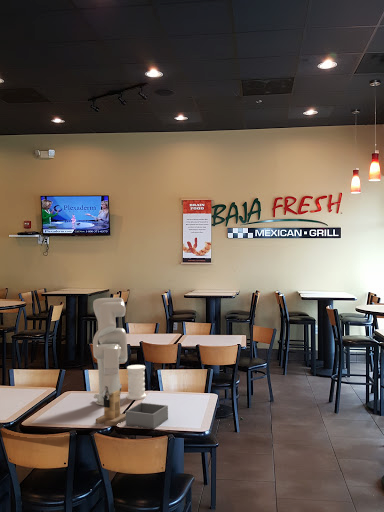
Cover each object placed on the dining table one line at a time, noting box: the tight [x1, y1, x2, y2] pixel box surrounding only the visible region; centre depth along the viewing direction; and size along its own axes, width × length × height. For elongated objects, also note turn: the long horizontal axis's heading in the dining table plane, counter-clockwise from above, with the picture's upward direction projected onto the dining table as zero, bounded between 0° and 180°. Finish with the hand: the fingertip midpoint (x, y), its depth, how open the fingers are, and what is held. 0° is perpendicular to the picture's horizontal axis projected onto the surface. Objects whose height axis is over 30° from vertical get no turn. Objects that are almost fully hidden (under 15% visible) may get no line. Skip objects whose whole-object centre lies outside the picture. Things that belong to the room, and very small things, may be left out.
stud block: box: [95, 413, 126, 427], centre depth 250 cm, size 12×12×9 cm
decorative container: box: [126, 364, 147, 401], centre depth 292 cm, size 12×12×18 cm
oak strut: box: [103, 390, 121, 419], centre depth 250 cm, size 6×6×13 cm
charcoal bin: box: [125, 402, 169, 430], centre depth 246 cm, size 16×16×7 cm
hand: (112, 404), depth 250 cm, fingers open, 9 cm apart
